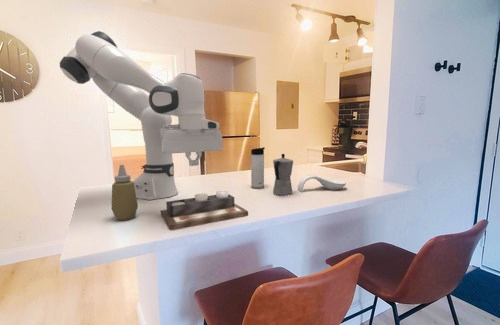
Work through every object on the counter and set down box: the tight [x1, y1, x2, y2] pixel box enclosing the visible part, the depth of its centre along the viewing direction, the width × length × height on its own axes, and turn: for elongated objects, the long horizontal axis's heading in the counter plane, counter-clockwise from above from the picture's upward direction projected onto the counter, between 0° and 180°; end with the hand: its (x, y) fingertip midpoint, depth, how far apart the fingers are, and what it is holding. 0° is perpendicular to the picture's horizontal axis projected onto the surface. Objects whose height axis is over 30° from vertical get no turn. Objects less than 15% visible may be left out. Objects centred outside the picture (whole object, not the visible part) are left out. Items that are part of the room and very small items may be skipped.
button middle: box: [194, 193, 209, 202], centre depth 93 cm, size 4×4×3 cm
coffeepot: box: [272, 153, 294, 197], centre depth 118 cm, size 15×9×18 cm, turn 153°
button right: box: [215, 190, 229, 199], centre depth 97 cm, size 4×4×3 cm
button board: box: [160, 193, 249, 231], centre depth 91 cm, size 26×16×5 cm, turn 119°
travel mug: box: [250, 147, 266, 190], centre depth 130 cm, size 6×7×20 cm
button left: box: [172, 202, 185, 206], centre depth 90 cm, size 4×4×3 cm
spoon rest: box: [297, 174, 347, 193], centre depth 127 cm, size 24×12×7 cm, turn 106°
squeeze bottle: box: [111, 164, 139, 221], centre depth 88 cm, size 8×8×18 cm
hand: (194, 165), depth 90 cm, fingers closed
